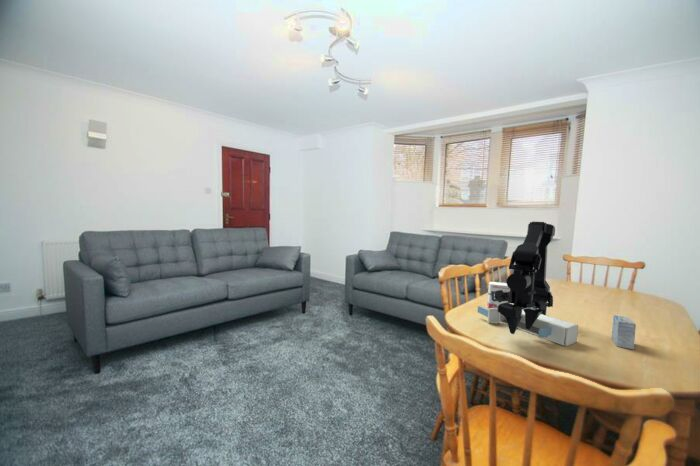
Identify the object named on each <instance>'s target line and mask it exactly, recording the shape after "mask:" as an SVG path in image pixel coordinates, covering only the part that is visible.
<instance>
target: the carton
mask: <svg viewBox="0 0 700 466" xmlns="http://www.w3.org/2000/svg"><path fill="white" fill-rule="evenodd" d="M520 316H522V317H521V320H520V322H519V324H518V327H517V328H518V330H520V329H521V330H520V331H523V332H526V333H528V332H529V334H531V335H534V336H537V337H538V334H539V329H542V328H545V327H548V323H550V324H553V325H557V326H560V327H563V328H566V329H565V340H564V345H563V346H564V347H567V346H571V345H573V344H576V343H577V341H578V332H579V331H578V330H579V325H578V324H576V323H574V322H569V321H567V320H562V319H561V318H556V317H553V316H550V315H547V314H546V315H543V314H540V315H539V317H538V318H537V319H536V321H535V322H534V324H533V325H532V326H531V328H530V329H529V330H528V329H526V325H525V312H524V310H522V314H521V315H520ZM498 323H501V324H503V323H504V324H503V325H507V326H508V323H507V320H506V318H505V317H504V315H502V314H500V317H499V322H498ZM542 339H546V340H547V336H546V337H543V338H542Z"/></svg>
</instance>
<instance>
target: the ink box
mask: <svg viewBox="0 0 700 466" xmlns="http://www.w3.org/2000/svg"><path fill="white" fill-rule="evenodd" d="M499 290H502V291H503V292H509V291H510V288H509V287H508V286H507V282H501V281H500V282H498V281H489V282H488V291H487V306H488V307H487V309H488V308H498V305H500V304H503V303H508V301H501V302H498V300H496V299H495V297H494V296H495V291H499Z"/></svg>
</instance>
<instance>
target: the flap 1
mask: <svg viewBox="0 0 700 466" xmlns="http://www.w3.org/2000/svg"><path fill="white" fill-rule="evenodd" d="M497 310H498V308H489V309H488V308H486V307H483V306H481V305H477V313H478V314H480V315H483V316H484V317H487V323H488V324H495V323H500V322H499V317H500V312H498V311H497Z"/></svg>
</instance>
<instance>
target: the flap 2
mask: <svg viewBox="0 0 700 466" xmlns="http://www.w3.org/2000/svg"><path fill="white" fill-rule="evenodd" d="M565 329H566V328H563V327H560V326H557V325H553V324H550V323H548V327H545V328H542V329H539V334H538V336H537V337H538V338H539V339H544V338H543V337H546V336H547V339H546V340H547V341H549V342H553V343H556V344H558V345H562V346H565V345H564V340H565Z"/></svg>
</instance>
